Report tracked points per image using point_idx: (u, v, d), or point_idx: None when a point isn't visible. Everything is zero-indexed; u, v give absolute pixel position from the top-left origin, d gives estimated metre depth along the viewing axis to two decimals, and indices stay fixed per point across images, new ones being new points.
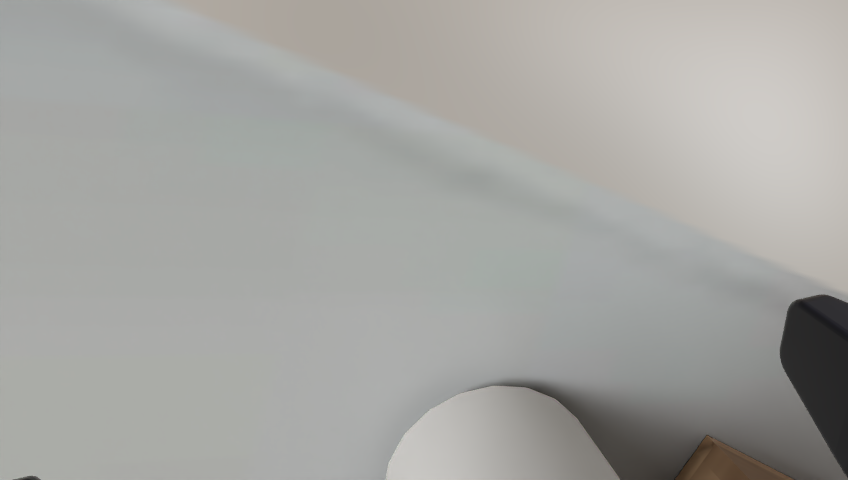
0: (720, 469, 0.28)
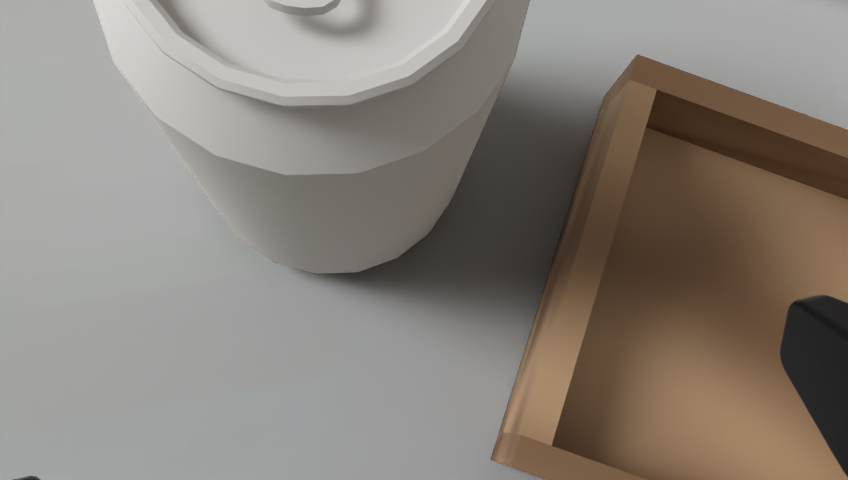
0: (615, 92, 0.23)
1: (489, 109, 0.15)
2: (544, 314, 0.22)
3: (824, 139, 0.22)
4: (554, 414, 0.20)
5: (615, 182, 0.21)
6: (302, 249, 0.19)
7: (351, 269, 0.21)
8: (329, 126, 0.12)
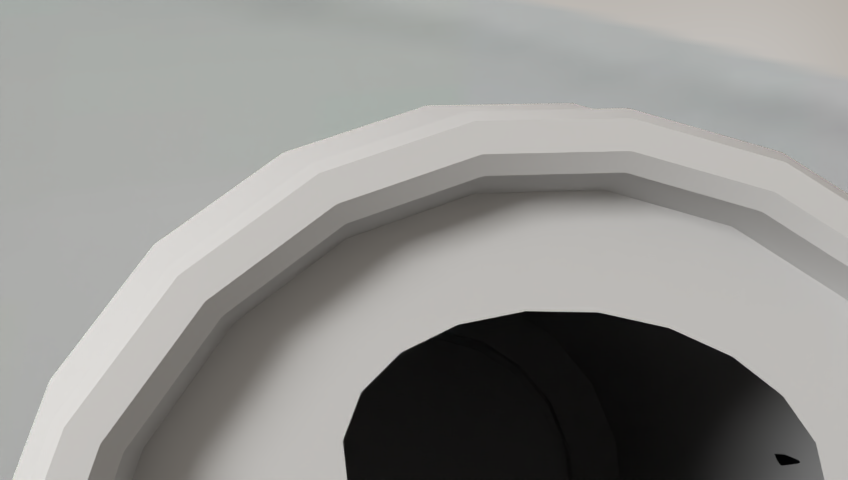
0: None
1: None
2: None
3: None
4: None
5: None
6: None
7: None
8: None
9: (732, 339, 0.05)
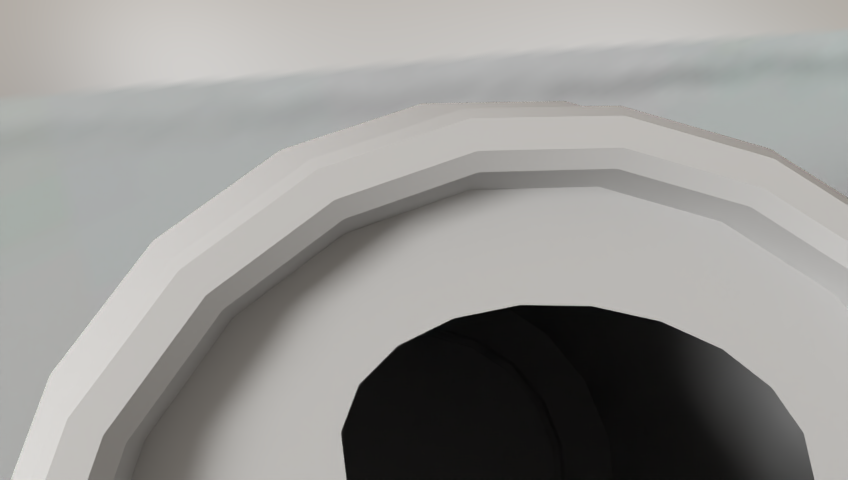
0: None
1: None
2: None
3: None
4: None
5: None
6: None
7: None
8: None
9: (722, 331, 0.05)
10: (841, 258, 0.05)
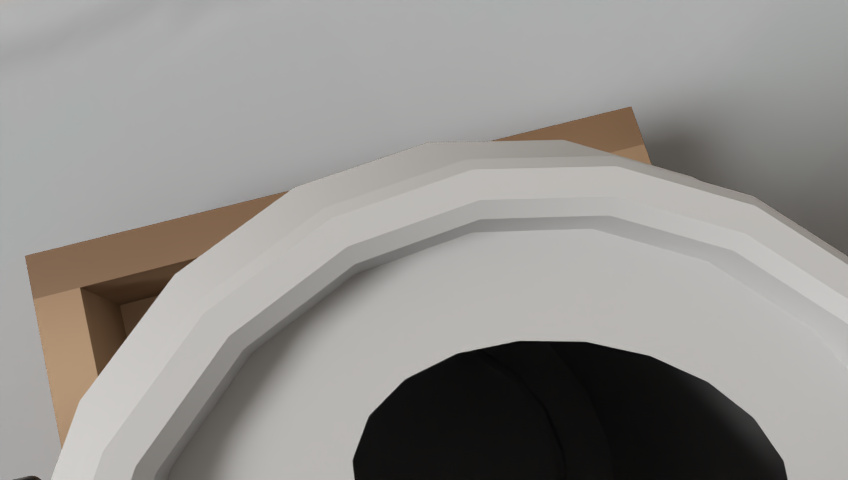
0: None
1: None
2: None
3: None
4: None
5: None
6: None
7: None
8: None
9: (707, 366, 0.05)
10: (818, 299, 0.05)
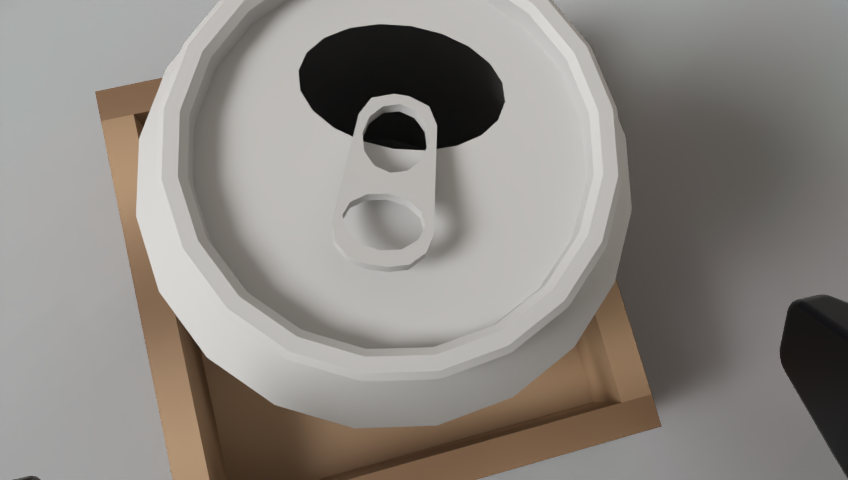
0: None
1: None
2: None
3: None
4: None
5: None
6: None
7: None
8: (409, 384, 0.11)
9: (470, 39, 0.11)
10: (514, 1, 0.11)
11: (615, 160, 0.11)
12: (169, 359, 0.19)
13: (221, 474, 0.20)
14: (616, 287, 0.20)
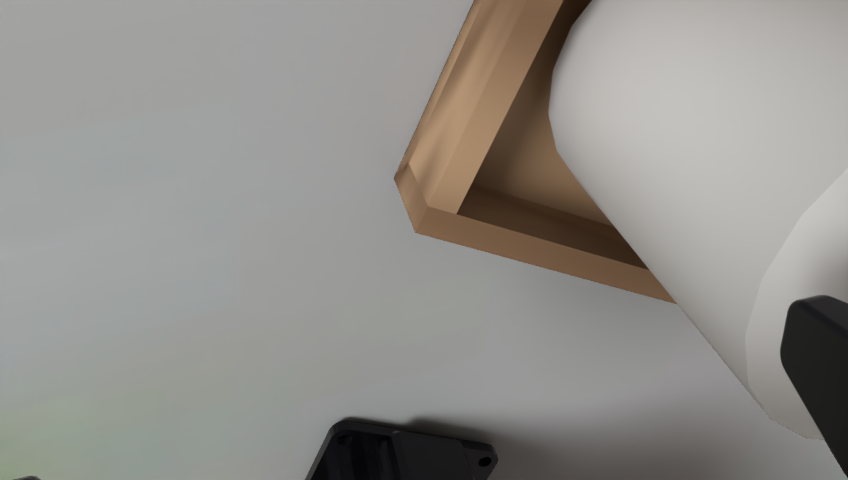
0: None
1: None
2: (467, 60, 0.20)
3: None
4: (463, 187, 0.20)
5: None
6: (621, 234, 0.19)
7: None
8: None
9: None
10: None
11: None
12: (511, 74, 0.18)
13: None
14: None
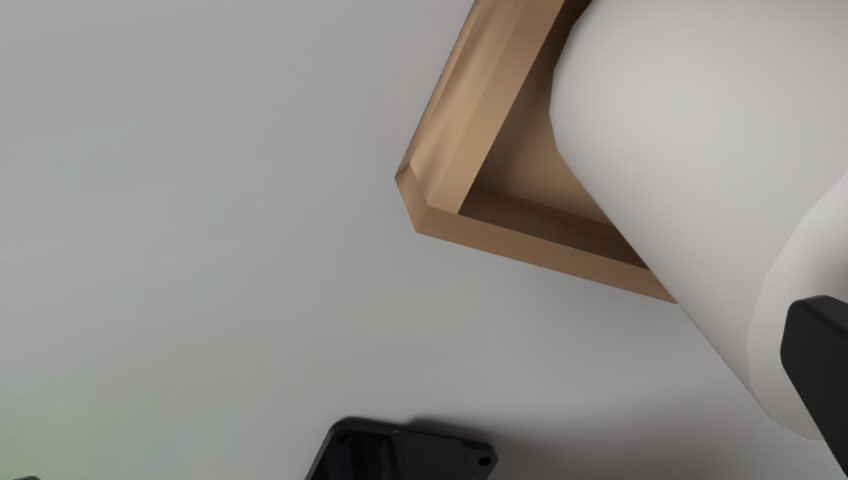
0: None
1: None
2: (468, 60, 0.20)
3: None
4: (464, 187, 0.20)
5: None
6: (622, 234, 0.19)
7: None
8: None
9: None
10: None
11: None
12: (512, 74, 0.18)
13: None
14: None
